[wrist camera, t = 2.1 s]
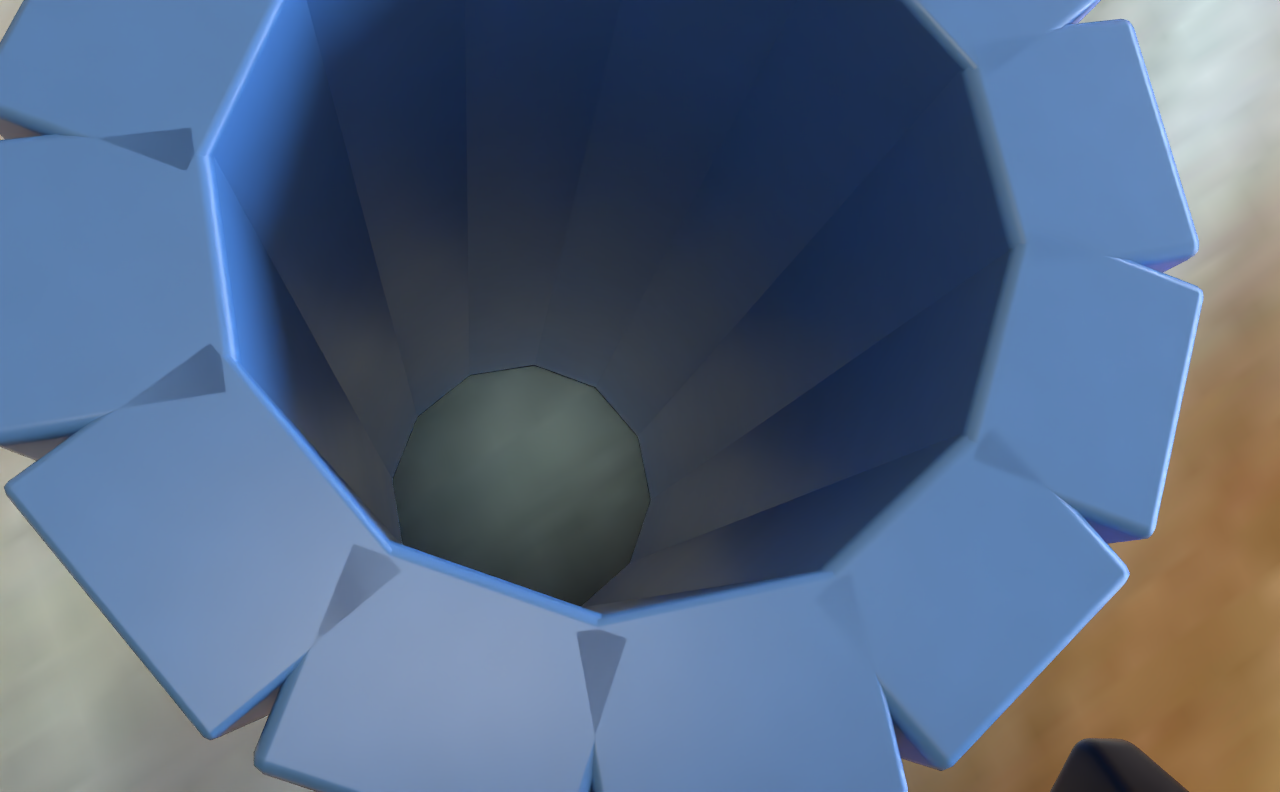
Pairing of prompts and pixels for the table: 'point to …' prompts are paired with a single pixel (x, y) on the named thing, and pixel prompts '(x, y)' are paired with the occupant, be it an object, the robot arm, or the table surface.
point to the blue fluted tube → (593, 364)
